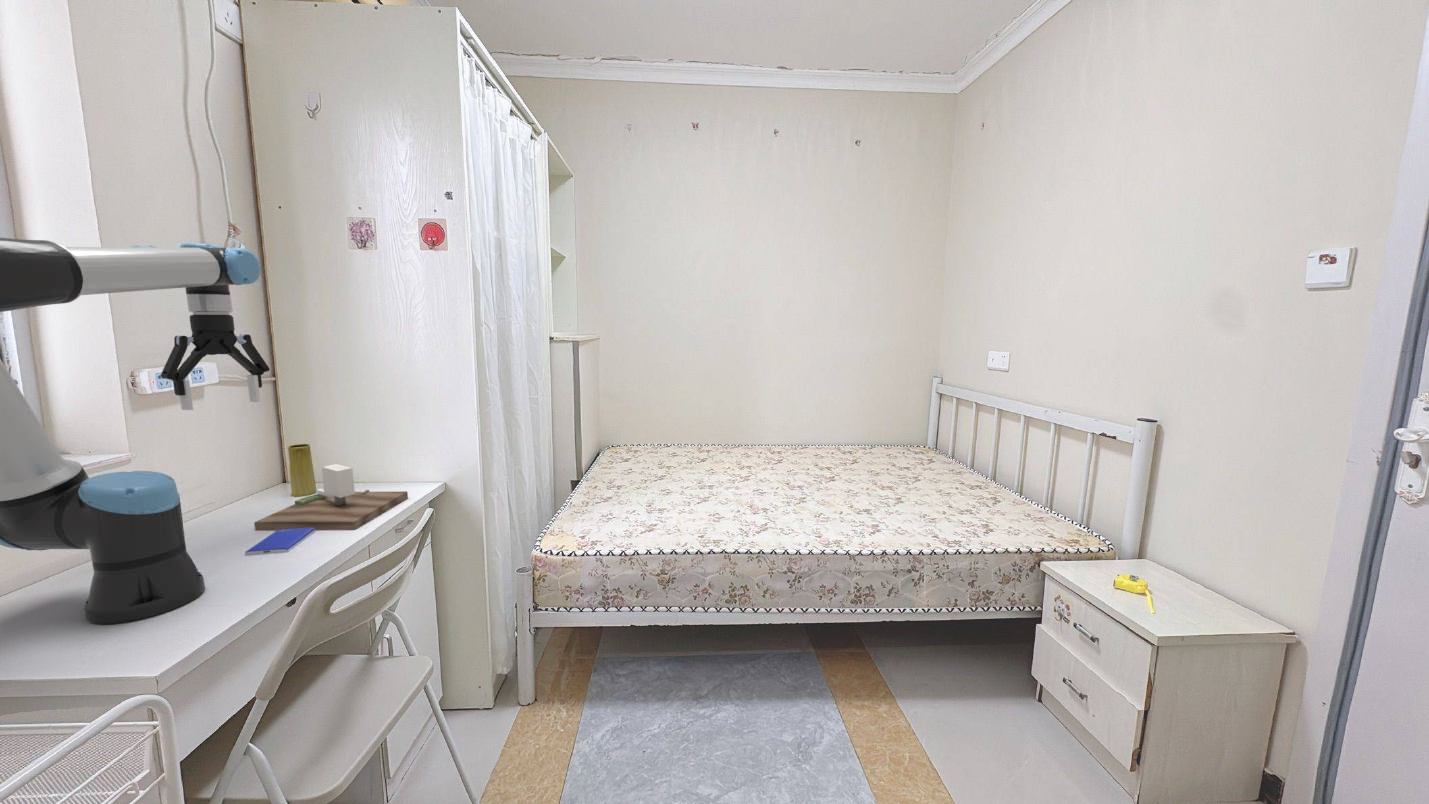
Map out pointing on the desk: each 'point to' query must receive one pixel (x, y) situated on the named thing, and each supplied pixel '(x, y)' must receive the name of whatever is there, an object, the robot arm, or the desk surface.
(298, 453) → the vase
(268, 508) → the desk surface
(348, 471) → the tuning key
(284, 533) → the hard drive
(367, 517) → the brown flat square board
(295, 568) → the desk surface
